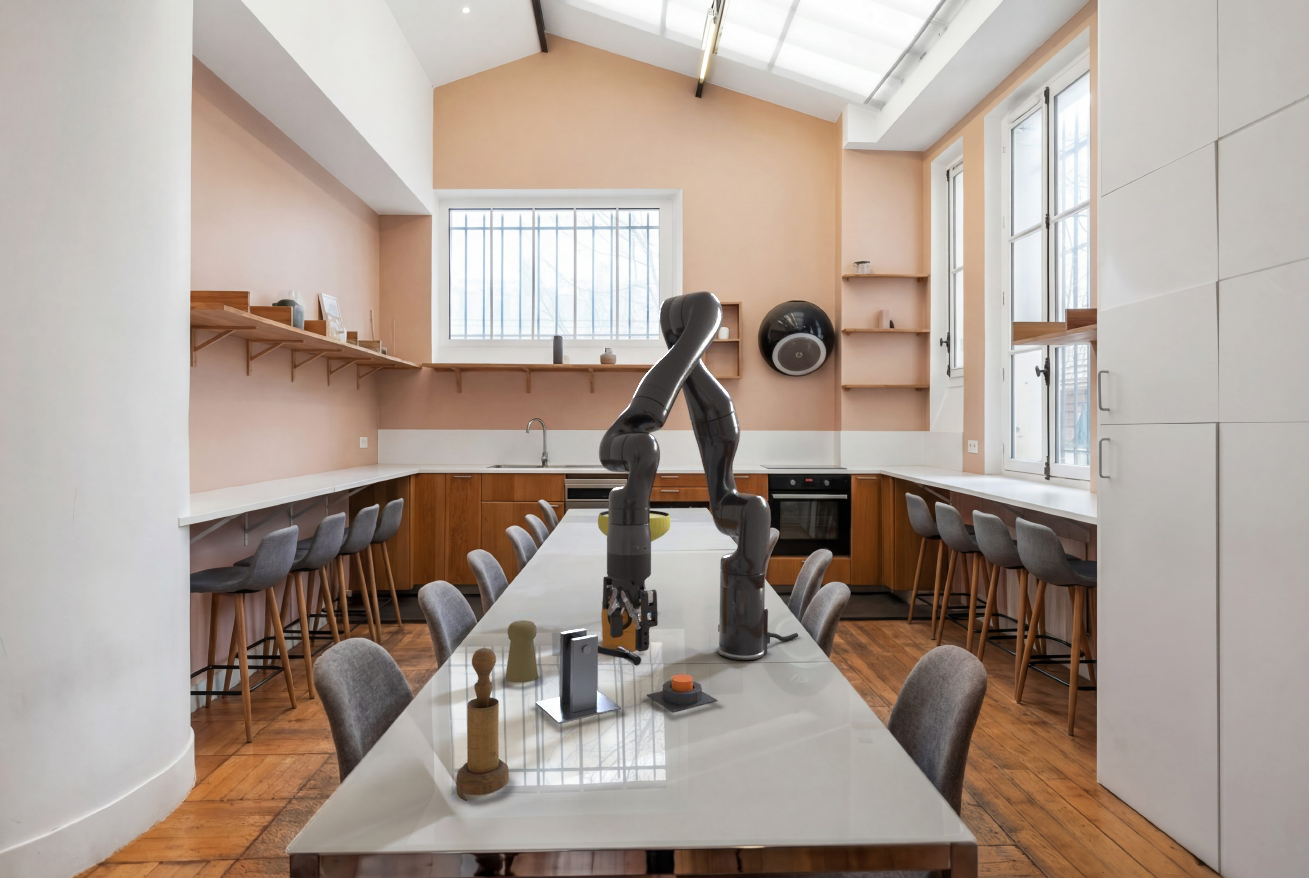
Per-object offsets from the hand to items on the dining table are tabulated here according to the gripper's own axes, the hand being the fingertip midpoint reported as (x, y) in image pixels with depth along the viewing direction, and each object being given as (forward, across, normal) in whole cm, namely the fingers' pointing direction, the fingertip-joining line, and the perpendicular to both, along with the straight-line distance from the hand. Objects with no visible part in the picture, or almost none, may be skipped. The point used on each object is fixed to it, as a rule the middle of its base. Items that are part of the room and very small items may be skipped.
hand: (628, 643), depth 117 cm
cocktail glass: (+11, +46, -29) cm, 55 cm away
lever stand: (+10, 0, +10) cm, 14 cm away
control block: (+10, -6, -7) cm, 13 cm away
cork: (+10, +17, +12) cm, 23 cm away
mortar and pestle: (+10, -15, +31) cm, 35 cm away
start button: (+7, -6, -7) cm, 12 cm away
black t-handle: (+1, 0, +5) cm, 6 cm away
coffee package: (+10, +25, -14) cm, 30 cm away
